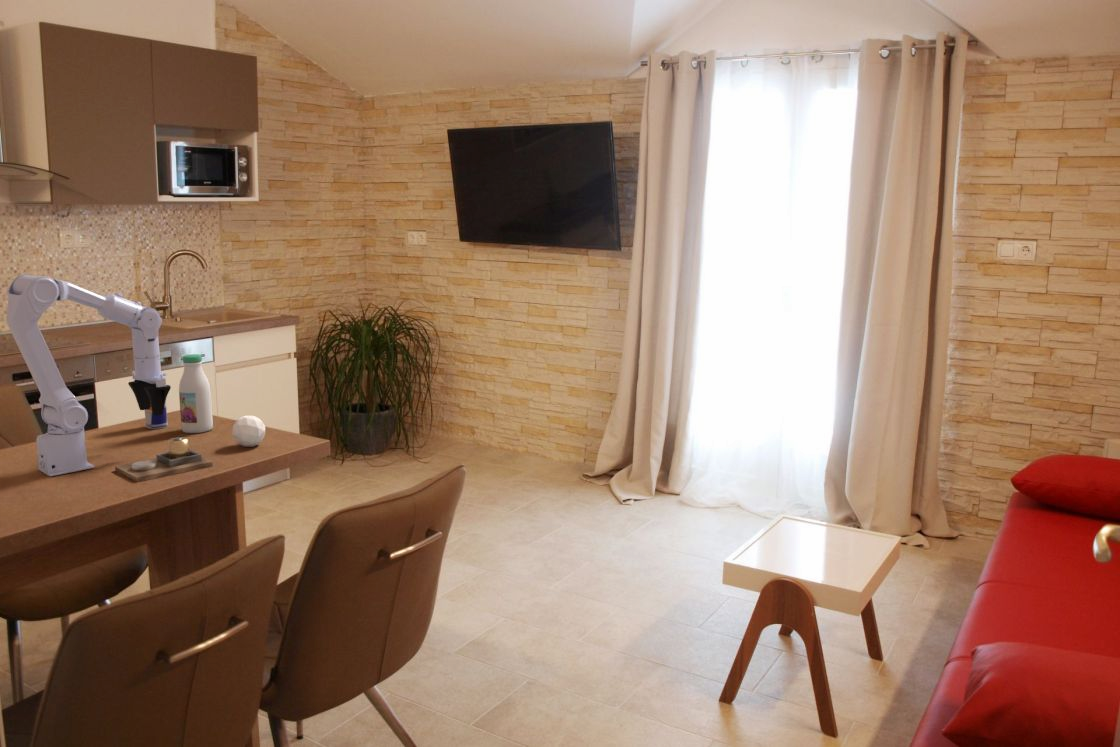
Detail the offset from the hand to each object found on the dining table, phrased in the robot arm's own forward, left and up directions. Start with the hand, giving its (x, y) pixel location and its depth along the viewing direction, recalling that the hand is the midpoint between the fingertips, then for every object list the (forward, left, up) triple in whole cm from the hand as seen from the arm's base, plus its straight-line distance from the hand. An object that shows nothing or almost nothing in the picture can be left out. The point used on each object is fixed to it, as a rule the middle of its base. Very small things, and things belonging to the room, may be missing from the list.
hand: (151, 412), depth 225 cm
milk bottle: (+16, +11, -10) cm, 22 cm away
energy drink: (+10, +22, -10) cm, 26 cm away
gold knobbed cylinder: (-2, -17, -8) cm, 19 cm away
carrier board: (-5, -17, -9) cm, 20 cm away
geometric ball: (+18, -13, -10) cm, 24 cm away
